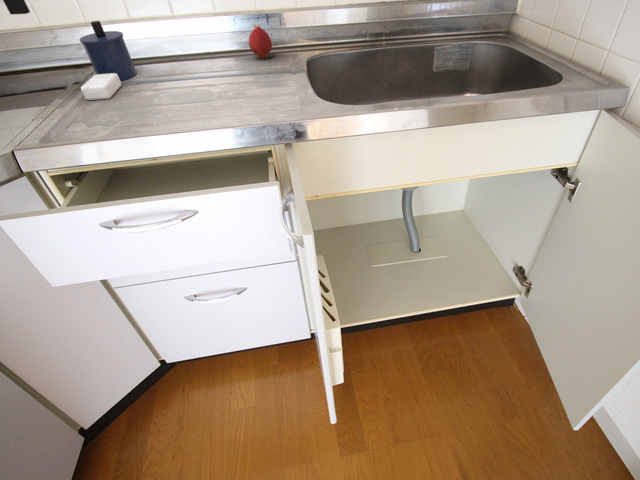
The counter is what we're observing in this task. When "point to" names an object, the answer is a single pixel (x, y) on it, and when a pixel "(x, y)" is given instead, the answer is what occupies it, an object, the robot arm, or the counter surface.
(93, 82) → the soap
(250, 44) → the onion
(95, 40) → the pot lid
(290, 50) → the counter surface
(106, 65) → the pot
